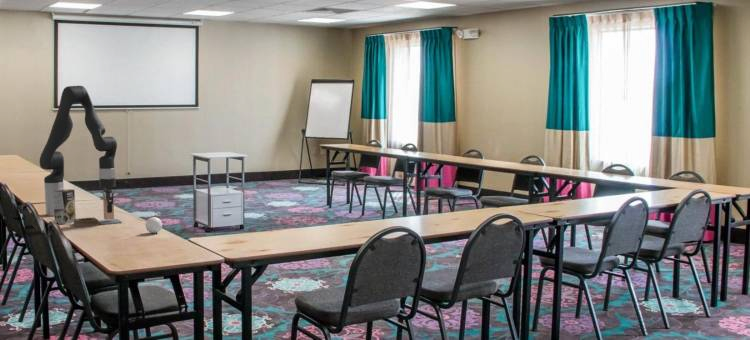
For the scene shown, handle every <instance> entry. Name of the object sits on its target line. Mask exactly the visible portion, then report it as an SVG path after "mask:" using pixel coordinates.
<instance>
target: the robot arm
mask: <svg viewBox="0 0 750 340" xmlns="http://www.w3.org/2000/svg"><path fill="white" fill-rule="evenodd" d="M59 100H60V101H59V104H58V105H59V106H58V109H57V112H56V116H55V119H54V122H53V124H52V127H51V130H50V133H49V136H48V139H47V141H46V143H45V145H44V148H43V150H42V152H41V153H40V157H39V166H40V168H41V169H43V170H45V171H51V170H52V172H51V173H50V174H48V175H45V177H44V179H43V182H44V200H45V201H44V202H45V216H49V217H50V216H51V217H54V194H53V192H54V191H59V190H65V188H64V178H65V177H64V176H65V160H64V155H63V153H62V152H61V151H57V149H59V148H60V147H61V146H62V145H64V143H65V142H66V141H68V139H69V138H70V136H71V133H72V131H73V126H74V124H73V120H72V117H71V114H70V112H71V108H72V107H73V105H81V106H82V107H83V109H84V112H85V113H84V124H85V126H86V128H87V130H88V131H89V133H90V135H91V138H92V141H93V145H94V149H96V150H97V151H99V152H105V153H104V155H101V156H100V157H99V158H98V163H99V164H98V166H99V167H98V169H99V170H98V179H99V181H98V183H99V188H101V189H102V188H103V190H102V191H101V192H102V199H103V200H102V202H103V201H104V200H106V201H107V212H108V213H111V212H112V204H113V203H114V195H115V193H114V191H113V190H112V188H114V187H116V186H117V185H116V170H115V157H116V153H117V149H118V148H117V147H118V141H117V140H116V138H115V137H113V136H104V135H105V134H106V128H105V126H104V124H103V123H102V121H101V119H100V118H99V116H98V114H97V112H96V109H95V107H94V105H93V102H92V99H91V97H90V94H89V92H88V90H87V89H86V87H84V86H82V85H67V86H65V87H64V88H63V90H62V91H61V96H60V99H59ZM109 200H111V202H109Z"/></svg>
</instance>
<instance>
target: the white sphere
mask: <svg viewBox="0 0 750 340" xmlns="http://www.w3.org/2000/svg"><path fill="white" fill-rule="evenodd" d="M162 227H163V222H162V221H161V219H160V218H158V217H150V218H148V219H147V220H146V222H145V229H146V231H148V233H150V234H157V233H159V232H161V230H162ZM156 232H157V233H156Z"/></svg>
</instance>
